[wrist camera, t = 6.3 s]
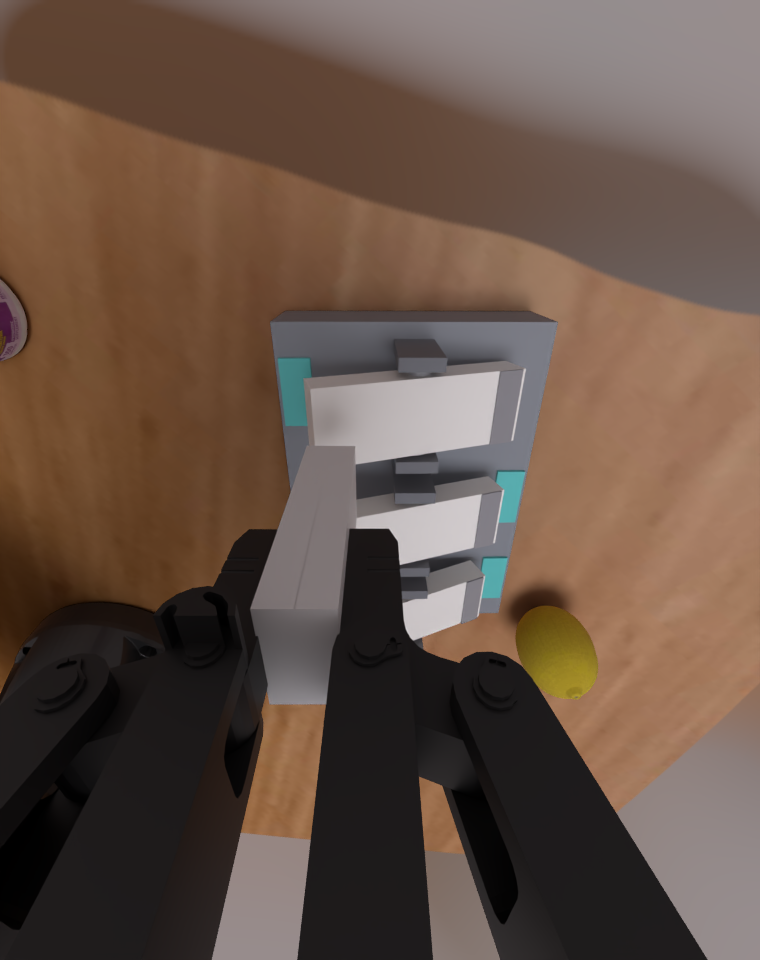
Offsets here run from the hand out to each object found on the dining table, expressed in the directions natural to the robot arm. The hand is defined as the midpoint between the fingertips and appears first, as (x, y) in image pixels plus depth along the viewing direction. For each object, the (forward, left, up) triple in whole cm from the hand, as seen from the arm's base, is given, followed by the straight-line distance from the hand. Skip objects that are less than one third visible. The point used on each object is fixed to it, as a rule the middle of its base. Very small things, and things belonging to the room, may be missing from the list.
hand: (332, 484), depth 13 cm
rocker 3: (+3, -13, -7) cm, 15 cm away
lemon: (+15, -20, -14) cm, 29 cm away
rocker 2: (+3, -6, -7) cm, 10 cm away
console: (+3, -6, -14) cm, 15 cm away
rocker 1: (+3, 0, -7) cm, 7 cm away
